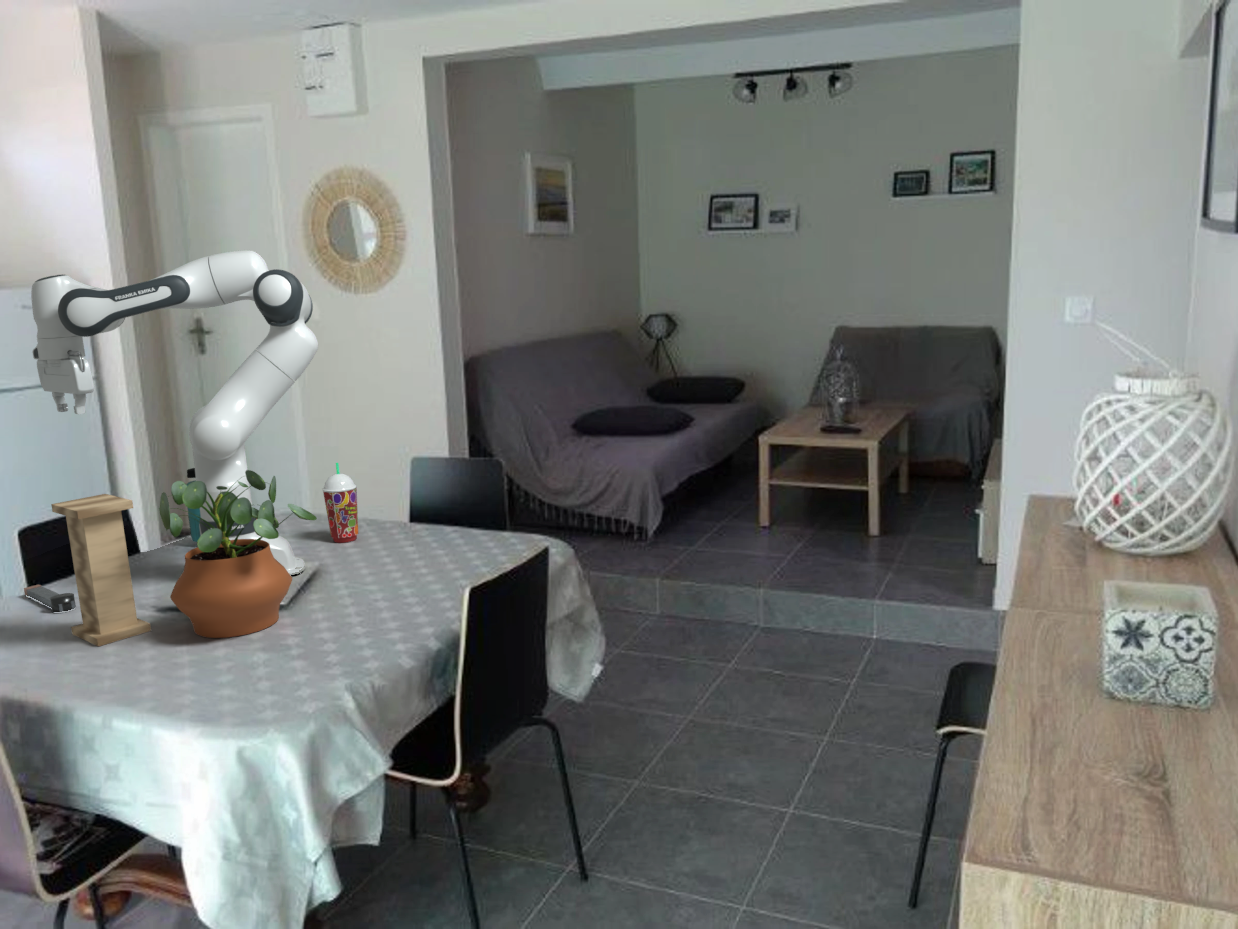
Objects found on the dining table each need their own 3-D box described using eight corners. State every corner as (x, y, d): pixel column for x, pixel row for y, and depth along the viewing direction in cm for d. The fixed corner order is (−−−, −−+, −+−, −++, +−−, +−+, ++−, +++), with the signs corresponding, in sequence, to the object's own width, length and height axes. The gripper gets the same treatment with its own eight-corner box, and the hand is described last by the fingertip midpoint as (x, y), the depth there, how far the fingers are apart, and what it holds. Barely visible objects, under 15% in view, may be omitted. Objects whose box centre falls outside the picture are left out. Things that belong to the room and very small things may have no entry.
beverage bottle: (209, 547, 261) (199, 470, 258) (186, 547, 263) (175, 471, 259) (224, 540, 268) (214, 465, 264) (201, 540, 269) (191, 465, 265)
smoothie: (357, 543, 258) (349, 465, 254) (324, 545, 258) (315, 466, 254) (365, 535, 266) (357, 459, 262) (333, 536, 266) (325, 460, 262)
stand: (72, 634, 200) (51, 504, 195) (124, 619, 208) (105, 493, 203) (98, 646, 192) (77, 511, 187) (151, 630, 200) (132, 500, 195)
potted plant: (186, 612, 210) (166, 468, 204) (328, 595, 216) (313, 455, 210) (165, 651, 188) (142, 491, 182) (324, 631, 194) (306, 475, 188)
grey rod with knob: (22, 598, 227) (19, 584, 226) (43, 592, 230) (41, 579, 229) (57, 614, 213) (54, 601, 213) (79, 609, 216) (77, 595, 216)
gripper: (96, 349, 222) (106, 413, 224) (58, 348, 235) (68, 408, 238) (65, 352, 217) (75, 417, 220) (29, 351, 230) (38, 412, 233)
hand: (71, 412), depth 229 cm, fingers open, 8 cm apart
